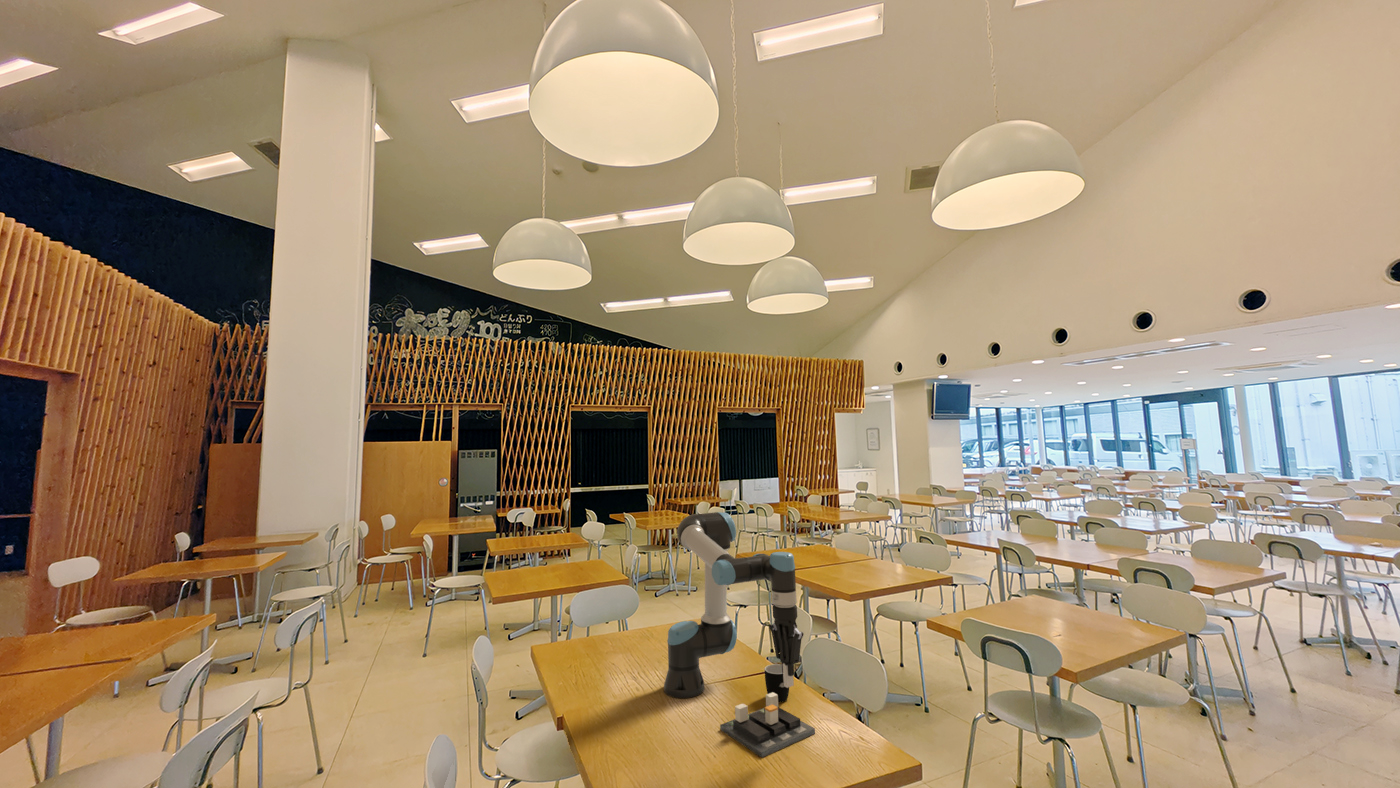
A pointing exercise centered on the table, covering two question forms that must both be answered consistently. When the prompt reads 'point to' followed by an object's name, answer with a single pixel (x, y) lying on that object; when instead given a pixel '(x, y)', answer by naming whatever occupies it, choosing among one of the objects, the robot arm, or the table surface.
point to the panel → (770, 749)
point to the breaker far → (771, 699)
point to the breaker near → (741, 712)
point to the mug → (776, 682)
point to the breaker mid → (771, 714)
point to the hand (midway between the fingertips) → (788, 685)
